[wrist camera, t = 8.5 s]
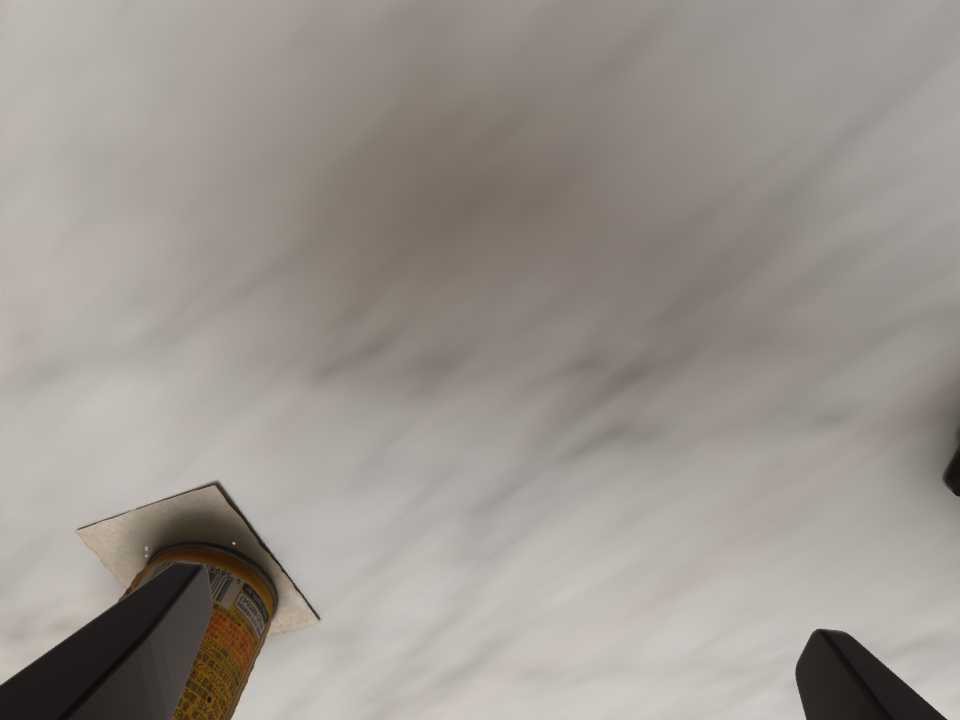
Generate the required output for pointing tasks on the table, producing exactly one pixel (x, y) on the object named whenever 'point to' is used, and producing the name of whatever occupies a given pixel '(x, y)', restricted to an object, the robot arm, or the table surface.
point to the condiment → (233, 581)
